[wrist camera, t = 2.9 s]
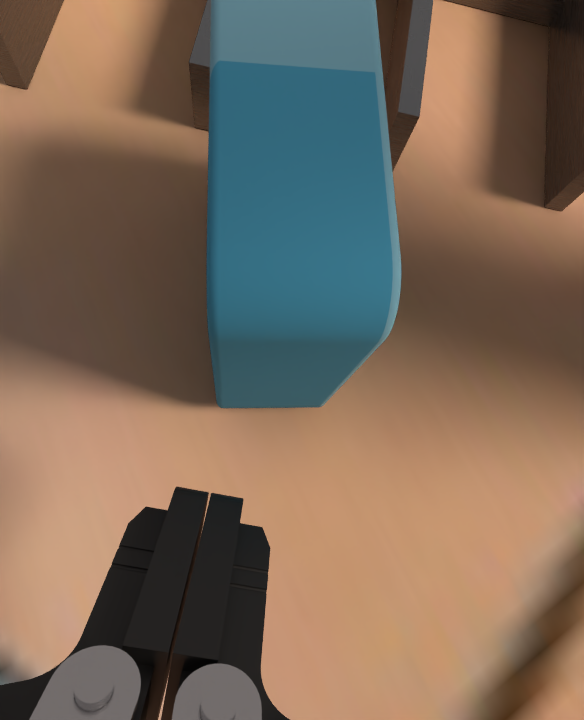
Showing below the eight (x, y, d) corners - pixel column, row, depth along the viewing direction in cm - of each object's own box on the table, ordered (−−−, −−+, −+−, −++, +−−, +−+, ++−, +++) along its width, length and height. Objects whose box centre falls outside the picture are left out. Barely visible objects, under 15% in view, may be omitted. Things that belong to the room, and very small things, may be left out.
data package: (219, 177, 25) (212, -91, 14) (308, 182, 26) (371, -73, 14) (217, 414, 22) (204, 318, 11) (318, 413, 23) (410, 320, 11)
